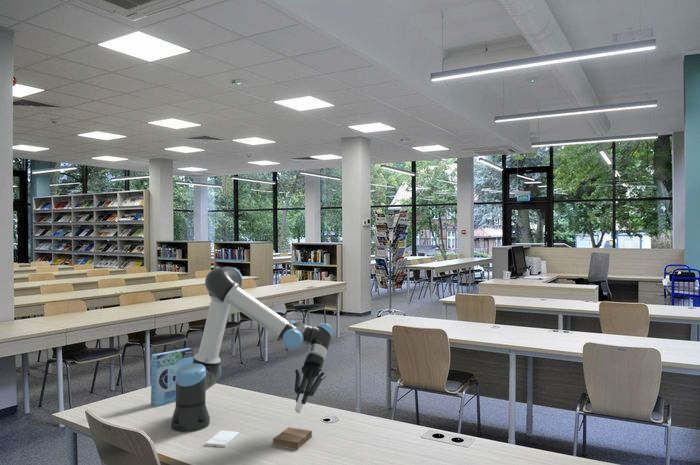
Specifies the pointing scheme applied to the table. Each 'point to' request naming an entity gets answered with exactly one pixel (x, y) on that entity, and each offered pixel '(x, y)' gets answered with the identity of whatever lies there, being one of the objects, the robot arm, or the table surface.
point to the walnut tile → (292, 438)
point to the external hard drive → (222, 438)
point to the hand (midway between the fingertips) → (297, 411)
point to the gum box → (167, 374)
